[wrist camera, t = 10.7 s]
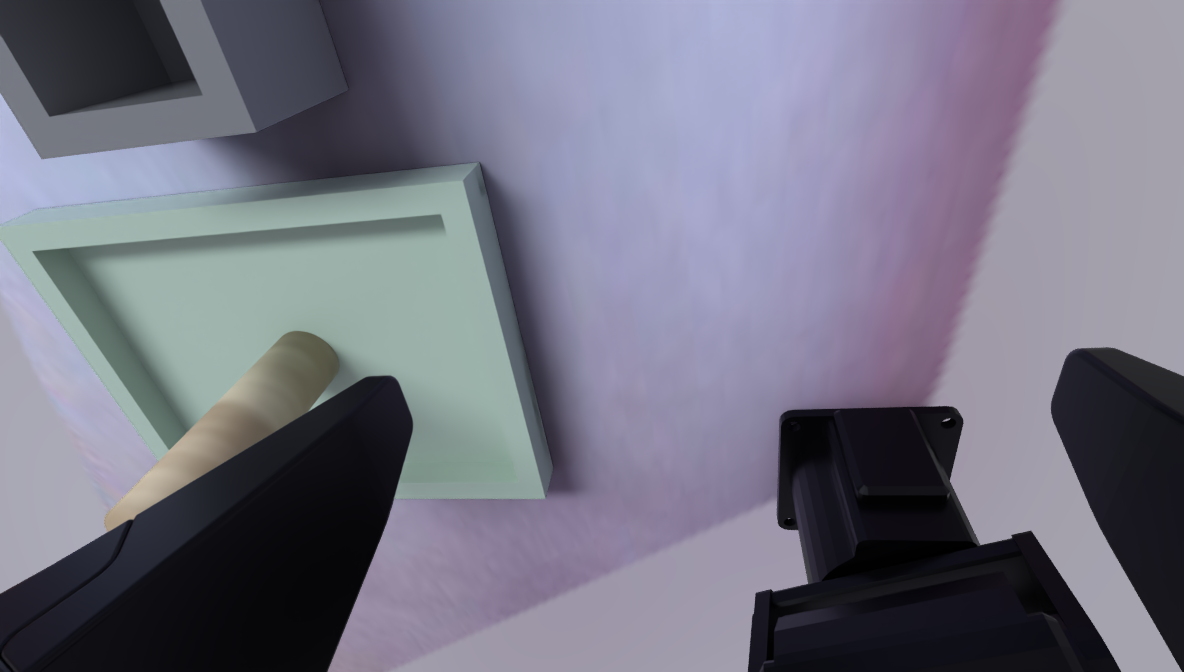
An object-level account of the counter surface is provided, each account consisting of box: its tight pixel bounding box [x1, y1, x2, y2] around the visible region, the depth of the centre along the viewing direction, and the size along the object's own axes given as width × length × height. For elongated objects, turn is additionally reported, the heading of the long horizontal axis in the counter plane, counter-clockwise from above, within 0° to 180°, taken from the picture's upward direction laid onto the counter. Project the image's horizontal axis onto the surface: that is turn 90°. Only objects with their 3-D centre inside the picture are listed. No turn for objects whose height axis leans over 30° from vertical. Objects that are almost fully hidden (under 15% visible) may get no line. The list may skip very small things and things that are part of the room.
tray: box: [0, 162, 553, 499], centre depth 25 cm, size 14×18×2 cm
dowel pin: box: [104, 331, 339, 532], centre depth 21 cm, size 3×3×9 cm
